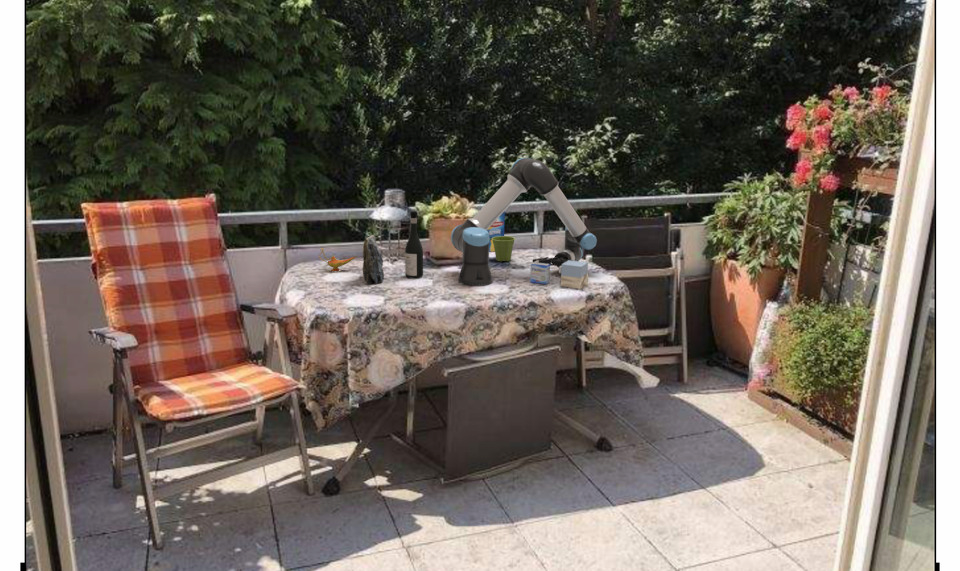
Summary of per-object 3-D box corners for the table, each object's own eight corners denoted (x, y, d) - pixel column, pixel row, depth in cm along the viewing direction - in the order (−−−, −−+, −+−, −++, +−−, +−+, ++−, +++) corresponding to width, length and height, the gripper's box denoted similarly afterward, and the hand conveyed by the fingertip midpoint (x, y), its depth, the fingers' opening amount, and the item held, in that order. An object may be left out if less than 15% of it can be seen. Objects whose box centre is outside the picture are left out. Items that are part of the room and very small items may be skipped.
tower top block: (580, 277, 335) (581, 266, 334) (561, 275, 339) (561, 264, 338) (587, 273, 343) (587, 262, 342) (568, 271, 347) (568, 260, 346)
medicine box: (529, 282, 345) (530, 263, 343) (532, 280, 349) (533, 261, 347) (546, 284, 342) (547, 265, 340) (549, 282, 346) (550, 263, 344)
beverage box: (504, 250, 409) (504, 209, 403) (485, 252, 404) (486, 210, 399) (498, 248, 415) (498, 207, 409) (479, 249, 410) (480, 208, 405)
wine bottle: (413, 279, 347) (413, 213, 339) (401, 276, 352) (401, 211, 345) (426, 276, 353) (426, 211, 345) (414, 273, 358) (414, 209, 350)
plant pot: (503, 256, 395) (503, 235, 392) (519, 260, 387) (520, 238, 384) (486, 260, 387) (486, 237, 384) (502, 264, 379) (503, 241, 376)
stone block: (383, 285, 338) (382, 240, 333) (362, 285, 337) (361, 240, 332) (385, 274, 355) (385, 232, 350) (366, 274, 355) (365, 232, 350)
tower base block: (580, 289, 336) (580, 278, 335) (560, 286, 341) (561, 275, 339) (587, 284, 344) (588, 273, 343) (568, 282, 348) (569, 271, 347)
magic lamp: (358, 272, 359) (357, 249, 357) (318, 272, 358) (317, 249, 355) (359, 268, 366) (358, 245, 363) (320, 269, 364) (319, 246, 361)
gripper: (588, 270, 361) (571, 279, 343) (539, 263, 372) (520, 272, 354) (589, 254, 359) (572, 263, 341) (540, 248, 370) (520, 256, 352)
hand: (545, 268), depth 348 cm, fingers open, 13 cm apart
